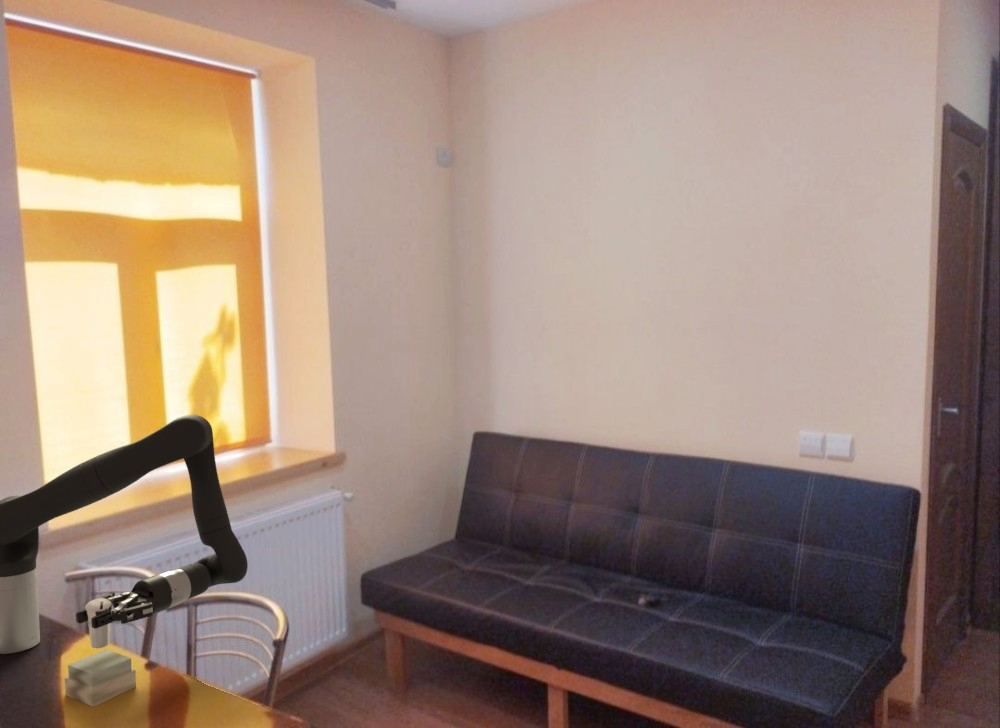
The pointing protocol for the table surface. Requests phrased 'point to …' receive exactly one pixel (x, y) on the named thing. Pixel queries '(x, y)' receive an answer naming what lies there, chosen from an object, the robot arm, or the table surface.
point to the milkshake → (101, 634)
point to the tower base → (100, 689)
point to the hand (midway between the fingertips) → (85, 620)
